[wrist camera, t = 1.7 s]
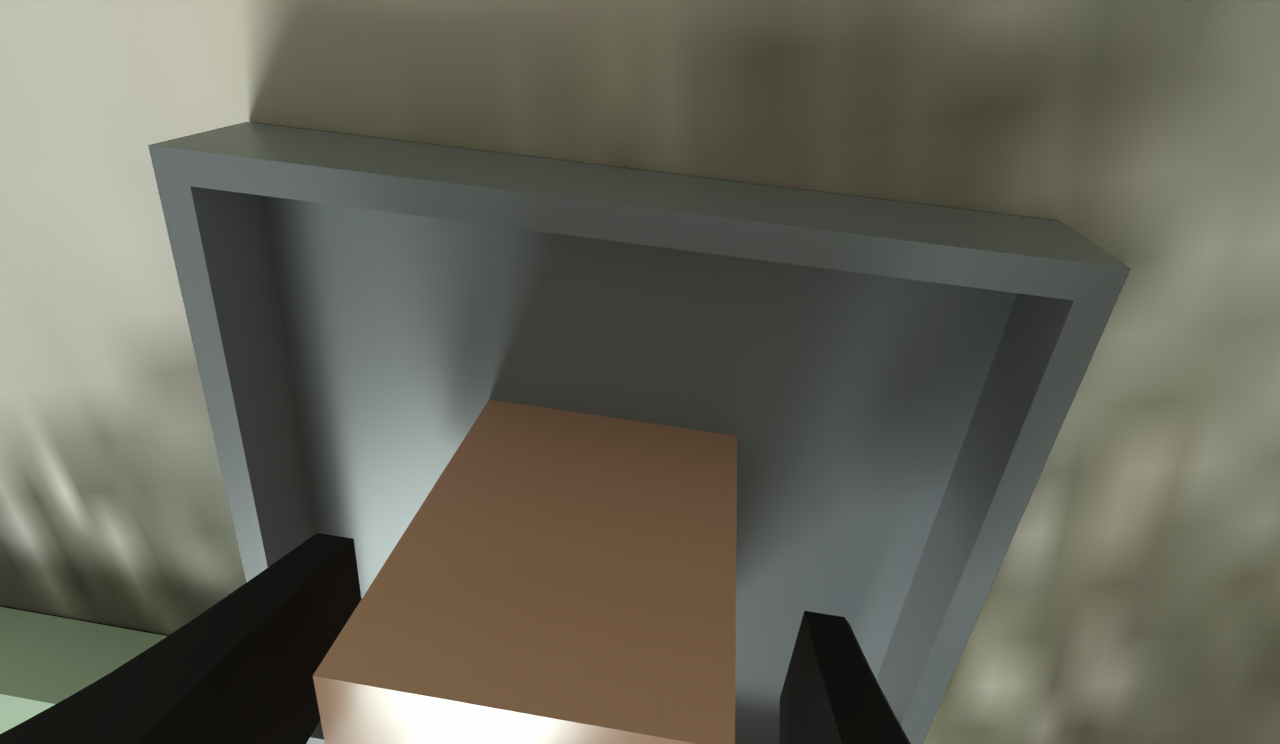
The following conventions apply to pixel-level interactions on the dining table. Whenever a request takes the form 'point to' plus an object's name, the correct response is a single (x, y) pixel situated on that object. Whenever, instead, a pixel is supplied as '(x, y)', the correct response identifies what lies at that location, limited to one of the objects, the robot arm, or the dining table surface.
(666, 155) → the dining table surface
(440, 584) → the terracotta block
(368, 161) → the charcoal tray
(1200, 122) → the dining table surface
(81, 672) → the green tray
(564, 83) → the dining table surface
